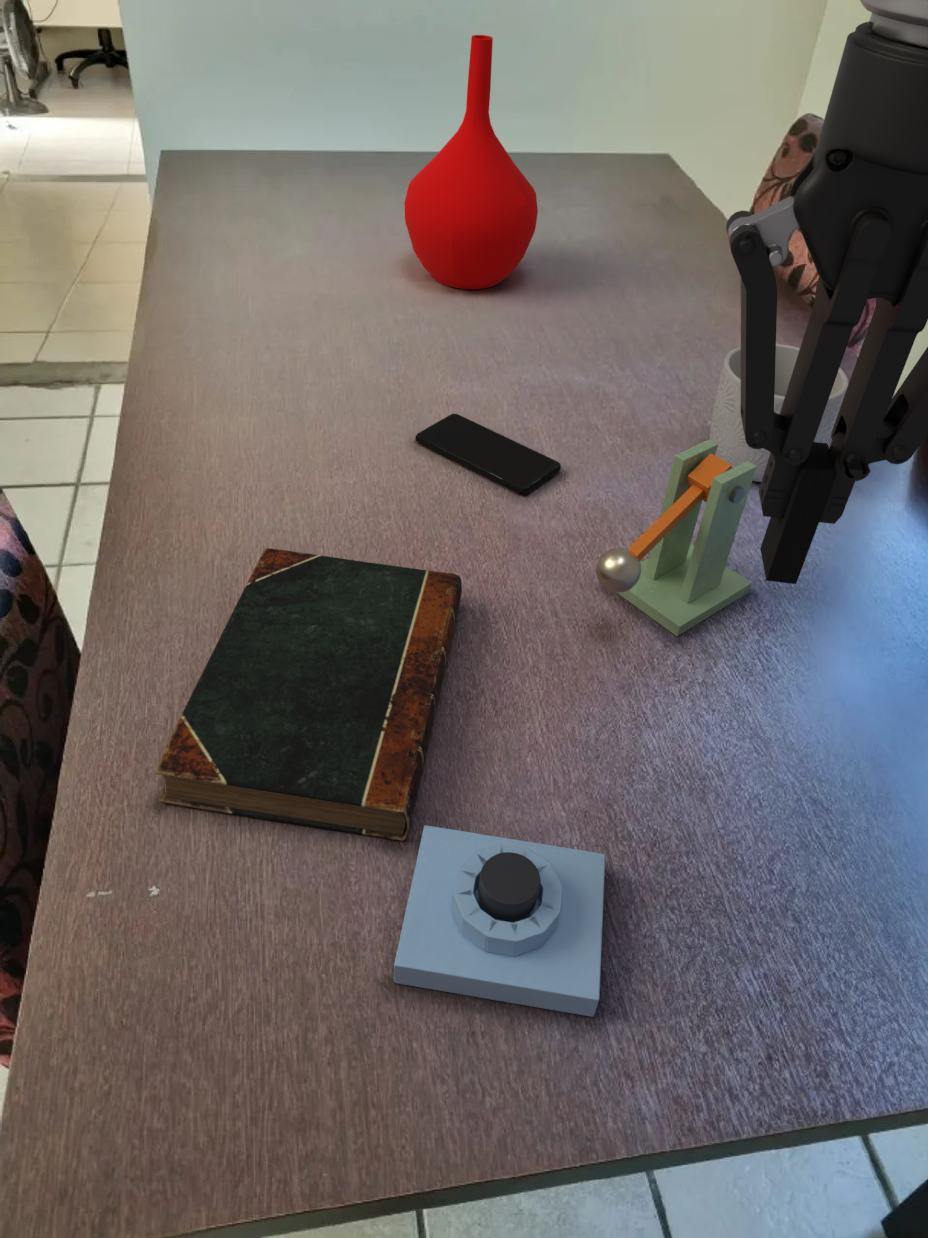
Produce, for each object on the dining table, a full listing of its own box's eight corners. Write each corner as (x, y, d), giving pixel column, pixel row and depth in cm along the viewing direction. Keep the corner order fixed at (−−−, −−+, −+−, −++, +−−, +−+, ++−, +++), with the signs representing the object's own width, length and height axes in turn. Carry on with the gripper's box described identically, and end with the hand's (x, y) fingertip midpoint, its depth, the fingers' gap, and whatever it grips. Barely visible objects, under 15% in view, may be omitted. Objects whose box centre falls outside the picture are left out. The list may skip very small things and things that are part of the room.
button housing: (600, 872, 63) (610, 837, 60) (593, 1018, 55) (604, 985, 52) (423, 843, 63) (425, 807, 61) (393, 983, 56) (393, 949, 53)
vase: (418, 306, 127) (425, 53, 107) (392, 253, 140) (394, 19, 120) (546, 299, 131) (576, 55, 111) (510, 249, 144) (531, 22, 124)
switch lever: (622, 608, 76) (615, 585, 73) (591, 585, 78) (582, 561, 75) (740, 490, 78) (738, 464, 75) (706, 471, 80) (703, 444, 77)
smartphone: (524, 491, 94) (412, 435, 100) (523, 498, 94) (412, 441, 101) (564, 463, 98) (454, 411, 104) (563, 470, 98) (453, 417, 105)
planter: (826, 499, 98) (862, 405, 90) (707, 489, 98) (734, 394, 90) (802, 437, 107) (833, 347, 99) (693, 427, 107) (716, 337, 100)
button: (539, 873, 58) (543, 856, 57) (534, 925, 55) (537, 909, 54) (482, 863, 58) (484, 847, 57) (474, 915, 56) (476, 899, 55)
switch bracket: (676, 636, 80) (715, 504, 71) (609, 587, 85) (637, 456, 76) (748, 592, 85) (793, 463, 76) (681, 548, 90) (716, 421, 81)
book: (267, 577, 83) (159, 804, 64) (264, 545, 81) (150, 770, 62) (461, 605, 82) (408, 843, 63) (464, 573, 79) (409, 811, 61)
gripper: (787, 34, 30) (651, 597, 46) (1211, 69, 29) (925, 630, 45) (762, -4, 36) (648, 509, 51) (1117, 25, 35) (891, 537, 50)
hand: (777, 565), depth 48 cm, fingers closed
